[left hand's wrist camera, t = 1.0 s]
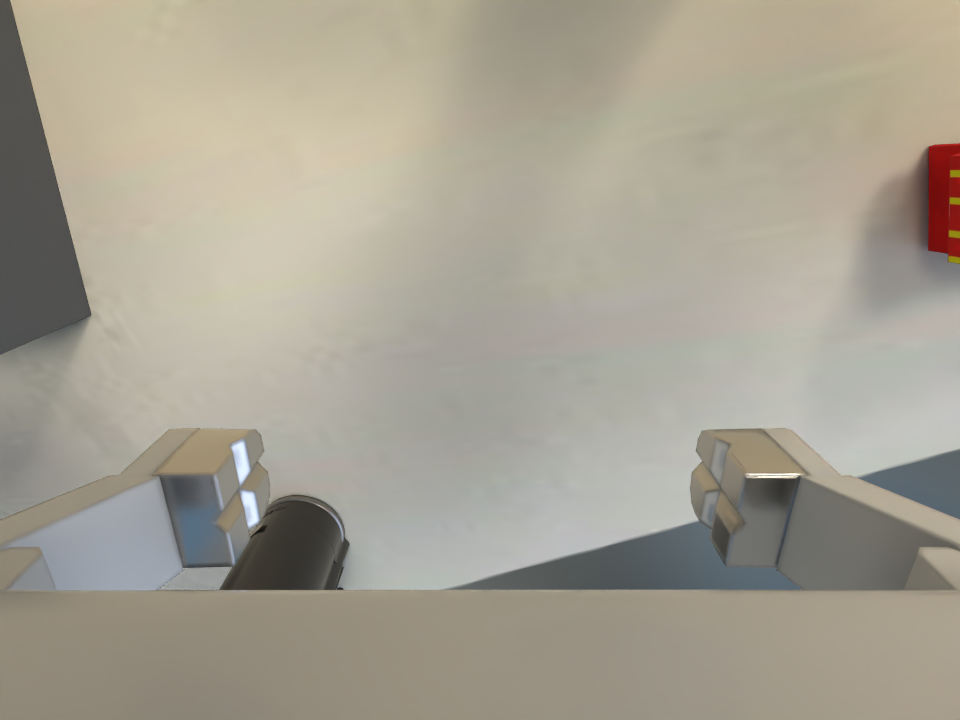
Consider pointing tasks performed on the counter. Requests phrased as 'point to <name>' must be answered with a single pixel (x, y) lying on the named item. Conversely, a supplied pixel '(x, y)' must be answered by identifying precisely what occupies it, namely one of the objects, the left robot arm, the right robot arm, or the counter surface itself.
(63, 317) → the box
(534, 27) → the counter surface
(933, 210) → the toy
